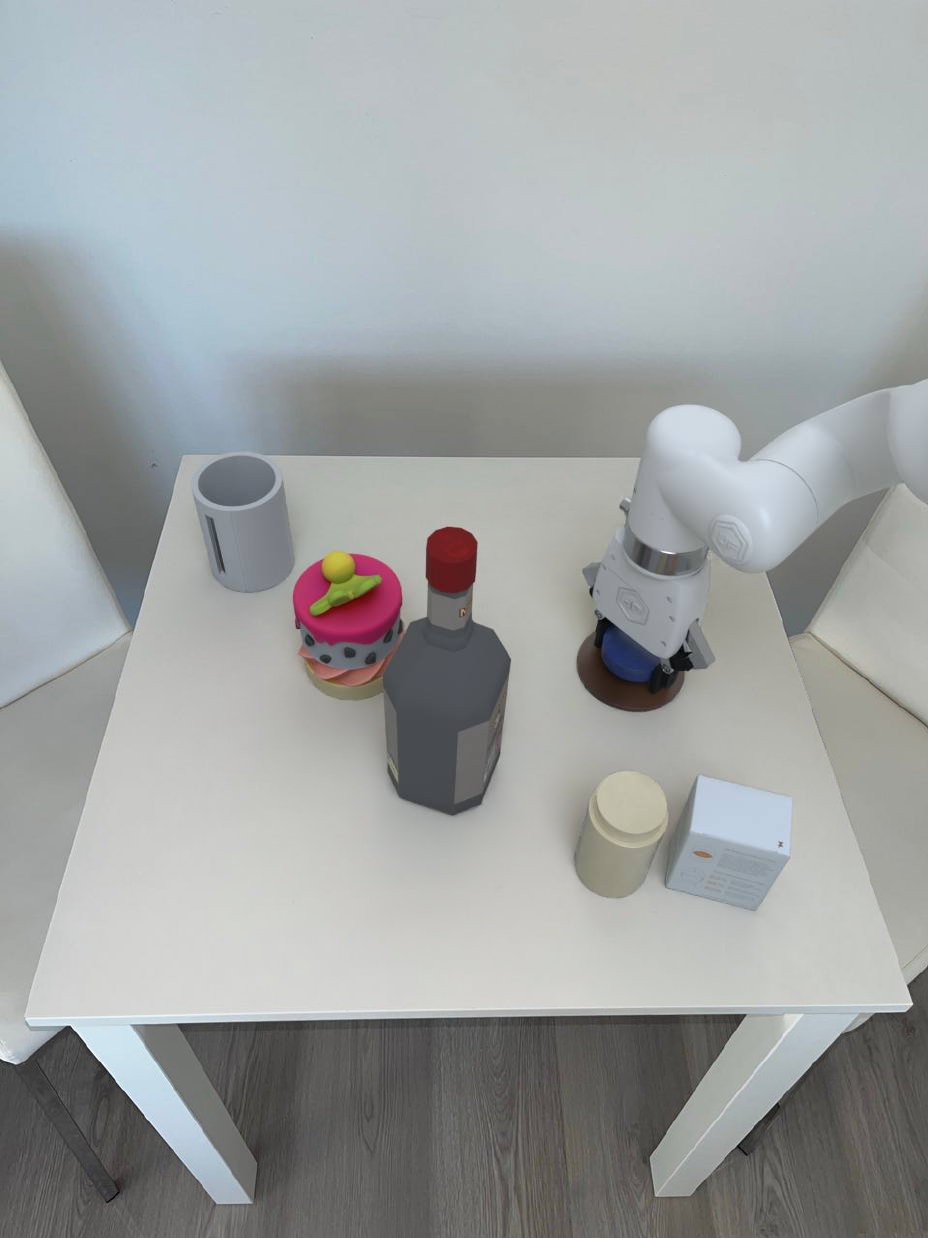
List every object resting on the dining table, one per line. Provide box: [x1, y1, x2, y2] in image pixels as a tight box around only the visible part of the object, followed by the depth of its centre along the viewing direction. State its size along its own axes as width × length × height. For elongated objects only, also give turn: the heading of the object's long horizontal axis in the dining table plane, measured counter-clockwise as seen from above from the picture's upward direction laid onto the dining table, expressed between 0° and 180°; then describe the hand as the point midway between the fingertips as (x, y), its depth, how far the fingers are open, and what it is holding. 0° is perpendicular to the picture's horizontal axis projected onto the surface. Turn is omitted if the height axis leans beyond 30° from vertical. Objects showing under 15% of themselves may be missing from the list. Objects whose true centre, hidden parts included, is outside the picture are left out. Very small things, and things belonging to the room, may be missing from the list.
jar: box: [573, 770, 669, 899], centre depth 78 cm, size 6×6×11 cm
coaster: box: [576, 630, 686, 713], centre depth 96 cm, size 11×11×1 cm
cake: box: [292, 550, 405, 701], centre depth 90 cm, size 10×11×15 cm
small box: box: [664, 774, 794, 911], centre depth 78 cm, size 8×6×10 cm
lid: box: [601, 623, 660, 682], centre depth 94 cm, size 7×7×2 cm
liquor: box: [383, 526, 512, 816], centre depth 76 cm, size 9×9×30 cm
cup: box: [190, 450, 296, 593], centre depth 100 cm, size 9×9×12 cm
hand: (633, 661), depth 95 cm, fingers closed on lid, 6 cm apart
